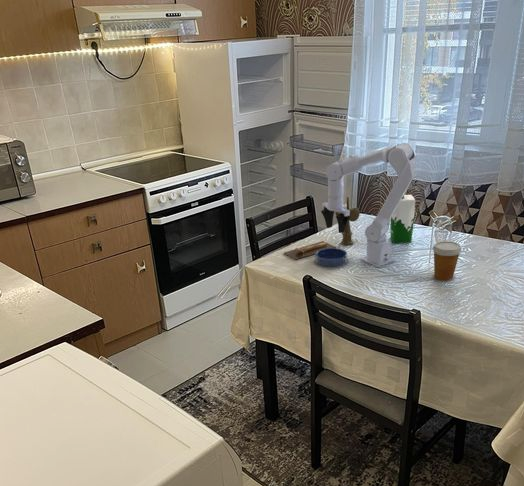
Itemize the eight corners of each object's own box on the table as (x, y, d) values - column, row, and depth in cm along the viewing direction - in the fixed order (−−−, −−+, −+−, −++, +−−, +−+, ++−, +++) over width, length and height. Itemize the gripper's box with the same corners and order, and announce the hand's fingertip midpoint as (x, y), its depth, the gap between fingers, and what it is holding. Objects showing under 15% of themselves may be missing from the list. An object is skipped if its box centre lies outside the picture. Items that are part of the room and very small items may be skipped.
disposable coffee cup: (443, 285, 188) (447, 252, 182) (424, 276, 196) (427, 244, 189) (463, 278, 192) (468, 246, 186) (444, 269, 199) (447, 238, 193)
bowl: (353, 262, 210) (353, 254, 208) (328, 270, 205) (328, 262, 203) (333, 253, 219) (333, 245, 217) (309, 261, 214) (309, 253, 212)
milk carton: (388, 237, 231) (390, 190, 221) (409, 235, 231) (413, 188, 221) (391, 244, 224) (395, 196, 213) (414, 243, 224) (418, 194, 213)
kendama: (345, 239, 232) (346, 192, 222) (359, 245, 225) (361, 197, 214) (334, 242, 230) (334, 195, 219) (348, 249, 222) (349, 200, 212)
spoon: (298, 251, 217) (303, 237, 215) (293, 249, 219) (297, 235, 218) (324, 257, 225) (328, 244, 224) (318, 255, 228) (323, 241, 226)
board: (322, 243, 230) (322, 241, 229) (336, 249, 223) (336, 246, 223) (283, 254, 221) (283, 252, 221) (296, 261, 215) (296, 258, 214)
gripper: (356, 197, 202) (355, 232, 209) (332, 189, 213) (332, 223, 220) (341, 201, 199) (340, 236, 206) (317, 193, 210) (318, 226, 217)
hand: (335, 229), depth 213 cm, fingers open, 7 cm apart
